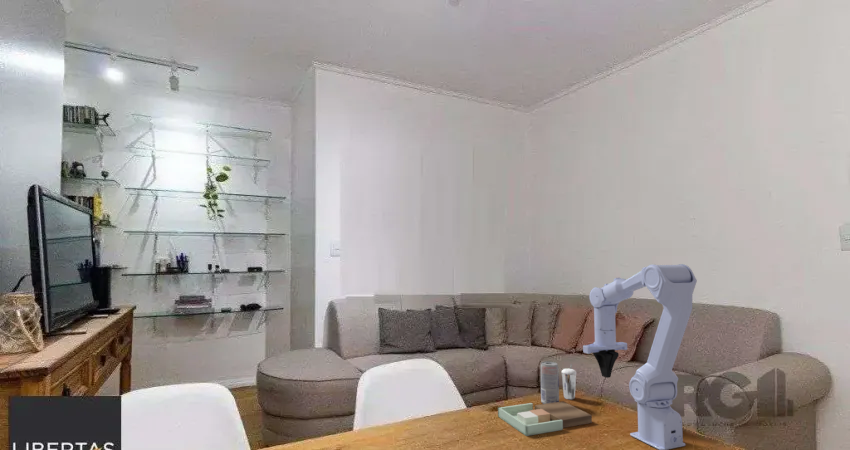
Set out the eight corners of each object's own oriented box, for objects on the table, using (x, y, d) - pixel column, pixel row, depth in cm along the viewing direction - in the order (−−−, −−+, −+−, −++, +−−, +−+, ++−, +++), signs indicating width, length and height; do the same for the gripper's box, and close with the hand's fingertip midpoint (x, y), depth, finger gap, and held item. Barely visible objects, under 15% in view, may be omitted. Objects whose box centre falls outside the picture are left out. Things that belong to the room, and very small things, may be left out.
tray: (562, 429, 114) (562, 420, 114) (526, 436, 110) (526, 426, 110) (531, 411, 127) (531, 402, 128) (497, 416, 123) (497, 407, 124)
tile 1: (538, 423, 117) (538, 416, 117) (525, 425, 116) (525, 418, 116) (529, 418, 121) (529, 411, 121) (517, 420, 120) (517, 412, 120)
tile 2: (550, 421, 119) (550, 413, 119) (537, 423, 118) (537, 415, 118) (541, 416, 123) (541, 408, 123) (529, 417, 121) (529, 410, 121)
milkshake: (579, 396, 141) (578, 364, 141) (575, 401, 136) (574, 368, 137) (564, 393, 143) (564, 362, 144) (560, 398, 138) (559, 366, 139)
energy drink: (557, 400, 137) (556, 361, 138) (560, 406, 132) (560, 365, 132) (539, 399, 137) (539, 360, 138) (542, 405, 132) (542, 365, 133)
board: (591, 422, 119) (591, 415, 119) (561, 428, 115) (561, 420, 116) (563, 408, 130) (563, 401, 130) (534, 412, 127) (534, 405, 127)
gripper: (614, 325, 134) (615, 370, 133) (575, 328, 128) (576, 375, 128) (632, 329, 127) (633, 376, 126) (592, 332, 122) (593, 382, 121)
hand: (606, 376), depth 126 cm, fingers closed
